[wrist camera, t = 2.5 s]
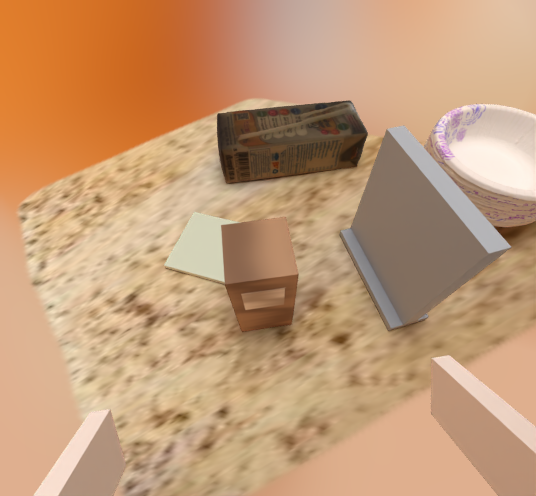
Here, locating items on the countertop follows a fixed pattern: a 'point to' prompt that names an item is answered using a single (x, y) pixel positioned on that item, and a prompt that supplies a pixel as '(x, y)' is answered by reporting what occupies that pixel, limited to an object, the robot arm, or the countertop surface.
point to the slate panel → (416, 233)
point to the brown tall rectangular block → (260, 272)
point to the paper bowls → (490, 159)
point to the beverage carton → (289, 140)
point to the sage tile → (200, 248)
